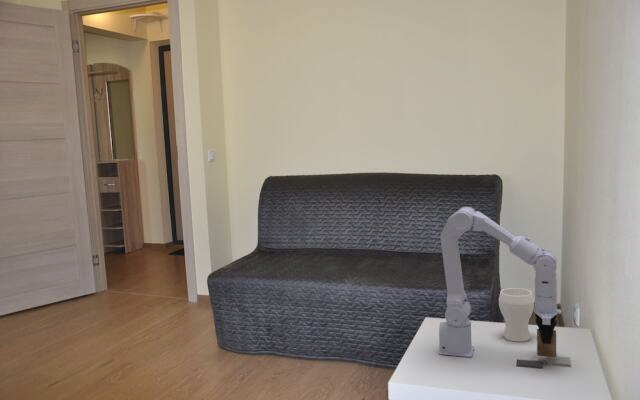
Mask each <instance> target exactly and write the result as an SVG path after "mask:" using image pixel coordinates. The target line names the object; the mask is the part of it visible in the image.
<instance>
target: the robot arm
mask: <svg viewBox="0 0 640 400" xmlns="http://www.w3.org/2000/svg"><path fill="white" fill-rule="evenodd" d="M471 228H472V232H485V233H487V234H488V235H489V236H491V237H493V238H495V239H496V240H499V241H500V242H502V244H505V245H507V246H508V248H509V253H511V254H513V256H515V257H516V258H519V260H522V261H523V262H525V263H527V265H528V266H532V267H533V269H534V271H535V277H534V309H533V313H535V314H534V315H535V319H534V320H535V324H536V325H537V327H538V329H539V330H540V335H541V340H542V343H544V344H550V343H551V339H552V334H553V330H555V327H556V325H557V324H558V321H557V320H556V319H557V315H561V314H562V309H558V304H557V303H558V300H557V299H558V298H557V296H558V292H557V290H558V287H557V272H556V271H557V267H558V266H557V258H556V255H554V254H553V252H552V251H550V250H546V248H545V247H540V246H539V245H537V244H535V243H534V242H532V241H531V237H529V236H525V237H524V236H523V235H519V236H517V235H516V236H515V235H513V234H512V233H511V232H510V231H508V230H507V229H505V228H504V227H502V226H501V225H499V224H498V223H497V222H495V221H494V220H492V219H491V218H489V217H488V216H487V215H485V214H484V213H482V212H481V211H479V210H476V209H474V208H473V207H471V206H463V207H460V209H458V210H457V211H455V212H453V213H452V214H451V215H450V216H449V217H448V218H447V221H446V223H445V225H444V227H443V230H442V231H441V233H440V236H439V237H440V244H441V252H442V253H441V254H442V262H443V267H444V268H443V269H444V276H445V285H446V290H447V291H446V292H447V296H446V310H445V312H444V318H445V321H441V322H439V326H438V327H439V328H438V337H439V339H438V340H439V342H438V343H439V355H442V356H454V357H466V358H472V357H473V354H474V349H475V346H474V345H472V344H473V343H472V321H471V319H470V317H469V316H470V315H471V313H472V305H471V303H470V301H469V300H468V296H467V293H466V291H465V287H464V285H465V284H464V279H463V271H462V264H461V256H460V248H459V239H460V238H461V236H462V235H463V234H464V233H467V232H468V231H470V229H471Z"/></svg>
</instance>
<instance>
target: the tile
mask: <svg viewBox="0 0 640 400" xmlns="http://www.w3.org/2000/svg"><path fill="white" fill-rule="evenodd" d="M546 359H547V360H546V361H547V362H546V363H547V366H556V367H566V368H567V367H568V368H572V367H571V365H572V364H571V357H569V356H568V357H567V356H559V355H556V357H546Z"/></svg>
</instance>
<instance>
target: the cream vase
mask: <svg viewBox="0 0 640 400" xmlns="http://www.w3.org/2000/svg"><path fill="white" fill-rule="evenodd" d="M498 306H499V307H498V308H499V310H500V313H501V315H502V316H503V318H504V319H503V320H504V325H505V328H504V332H503V333H504V335H503V337H504V338H505V340H508V341H511V342H527V341H529V340H530V338H531V337H530V331H529V321H530V318H531V316H532V315H533V313H534V309H535V297H534V295H533V292H532V291H531V290H529V289H527V288H521V287H520V288H519V287H509V288H507V287H506V288H503V289H501V290H500V293H499V297H498Z"/></svg>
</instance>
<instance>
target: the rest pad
mask: <svg viewBox="0 0 640 400" xmlns="http://www.w3.org/2000/svg"><path fill="white" fill-rule="evenodd" d="M515 365H516V367H524V368H532V369H544V361H540V360H527V359H519V358H517V359H516V364H515Z"/></svg>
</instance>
